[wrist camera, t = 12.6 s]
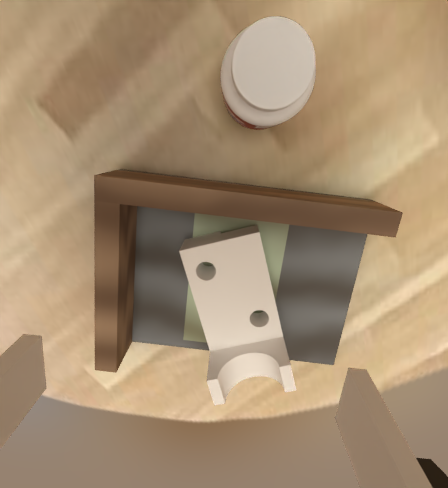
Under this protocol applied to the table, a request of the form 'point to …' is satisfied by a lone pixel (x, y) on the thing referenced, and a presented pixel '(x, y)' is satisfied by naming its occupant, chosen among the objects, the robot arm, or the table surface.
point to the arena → (174, 276)
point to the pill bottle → (268, 72)
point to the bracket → (236, 309)
